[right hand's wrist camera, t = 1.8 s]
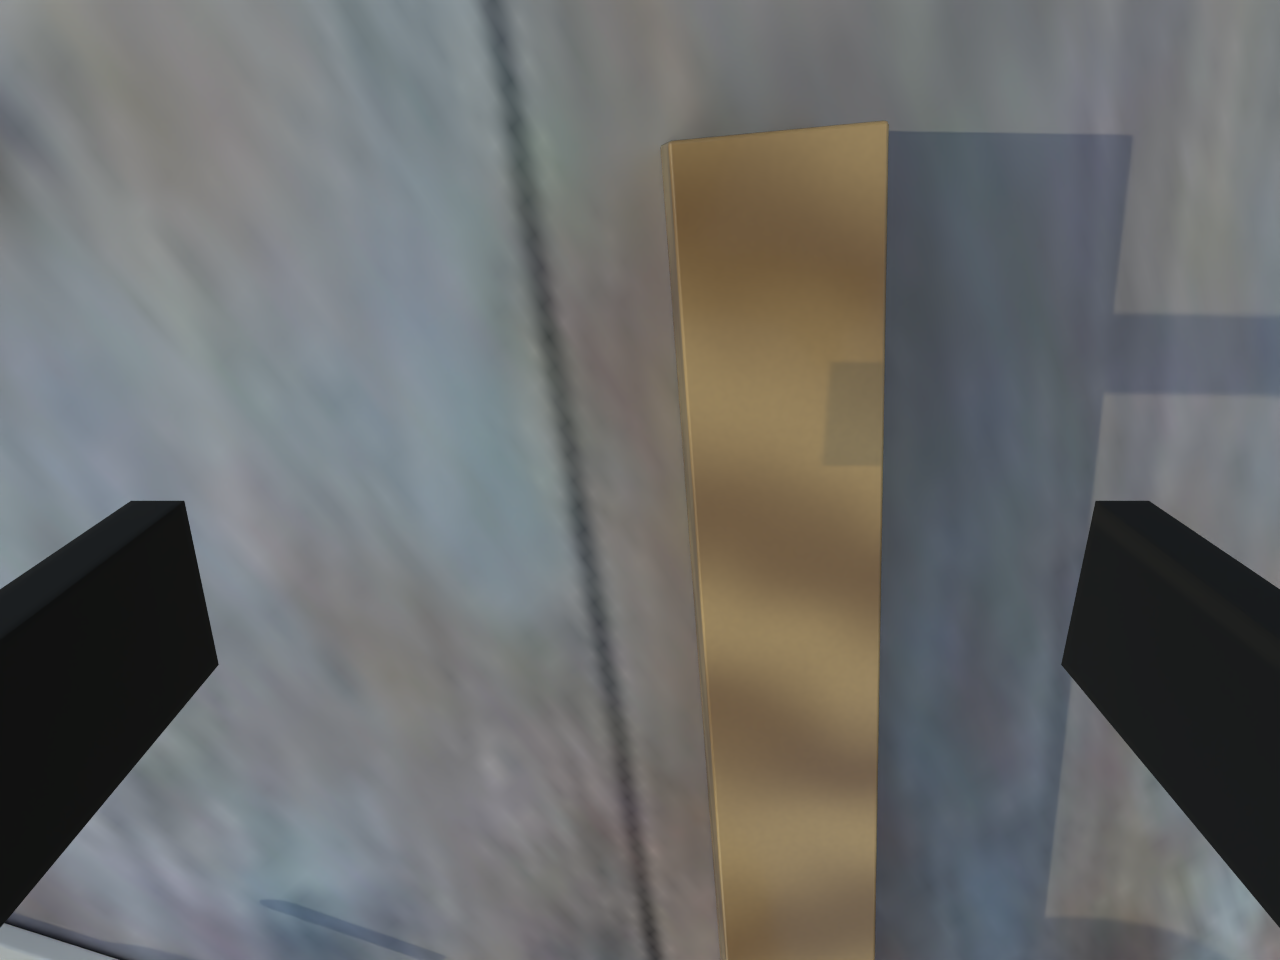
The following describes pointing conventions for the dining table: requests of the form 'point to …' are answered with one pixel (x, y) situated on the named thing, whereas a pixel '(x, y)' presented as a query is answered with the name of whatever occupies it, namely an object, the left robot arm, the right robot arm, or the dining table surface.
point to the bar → (785, 518)
